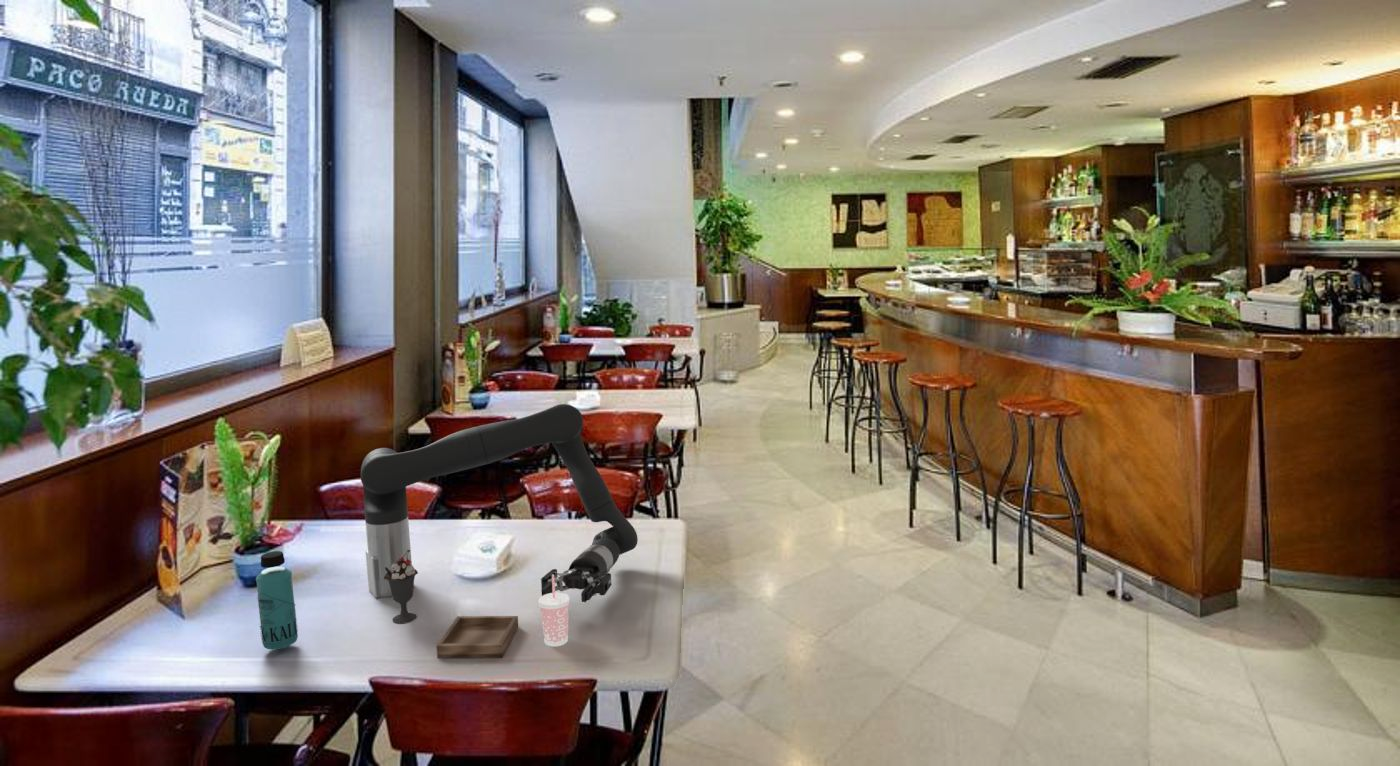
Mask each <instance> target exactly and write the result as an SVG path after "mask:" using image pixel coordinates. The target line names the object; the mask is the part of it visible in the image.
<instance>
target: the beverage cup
mask: <svg viewBox="0 0 1400 766" xmlns="http://www.w3.org/2000/svg"><path fill="white" fill-rule="evenodd" d="M555 584H556V583H555V582H554V574H552V591H553V593H549V594H545V595H543V596H542V595H541V596H540V597H539V598H538V606H539V607H540V613H541V614H540V615H541V623H542V631H543V640H544V644H545V645H546V646H548V647H560V646H562V645H563V646H564V645H565V644H566V643H568V640H569V636H568V635H569V603H570V600H571V599H570V595H569V594H567V593H566V592H565V593H564V592H557V591H555Z"/></svg>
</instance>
